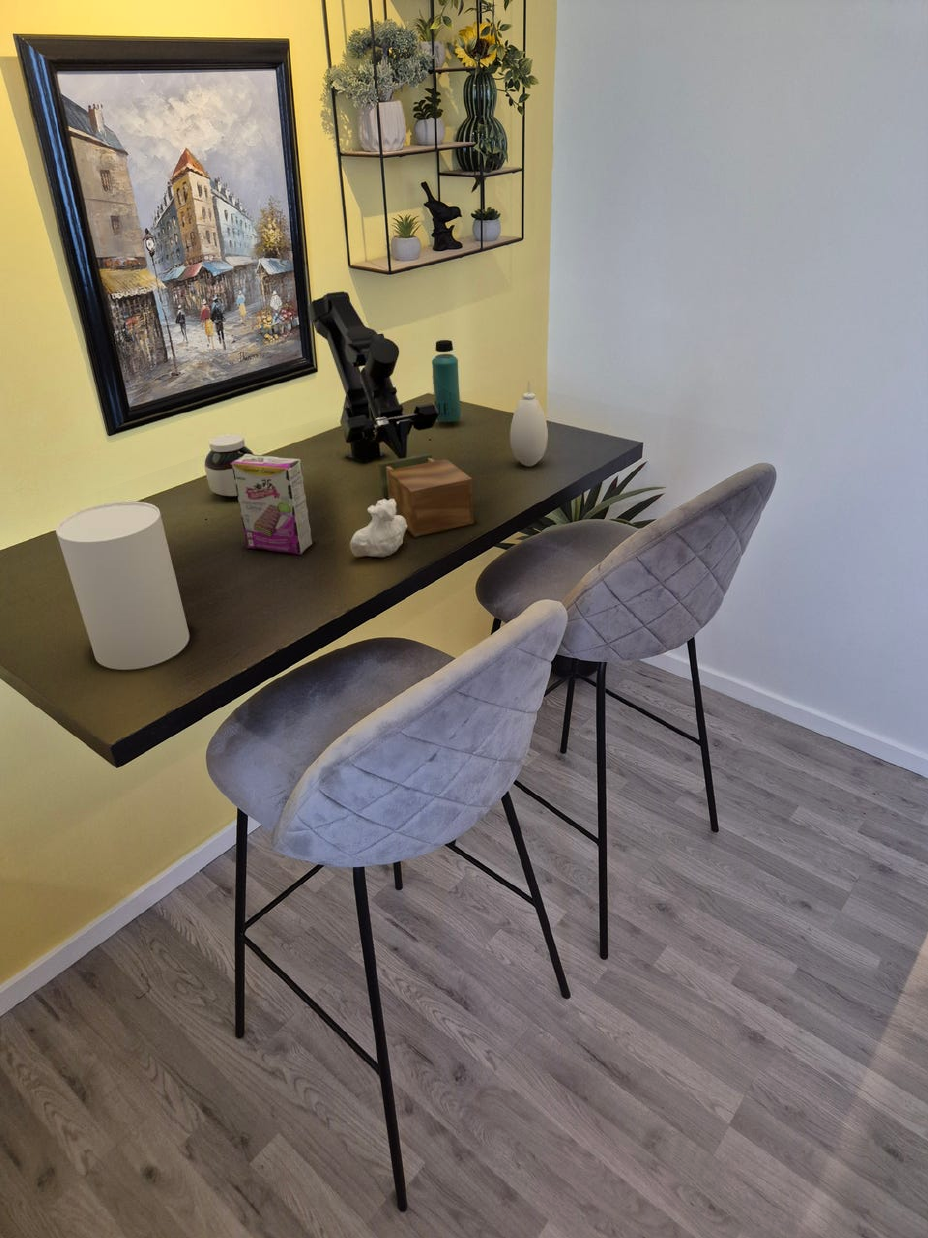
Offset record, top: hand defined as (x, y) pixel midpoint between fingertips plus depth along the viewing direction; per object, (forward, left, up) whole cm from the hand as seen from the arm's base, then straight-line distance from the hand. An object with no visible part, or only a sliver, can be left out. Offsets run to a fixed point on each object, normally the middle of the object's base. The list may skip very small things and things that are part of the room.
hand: (404, 460), depth 170 cm
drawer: (+5, -2, -6) cm, 8 cm away
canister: (+12, -64, -7) cm, 65 cm away
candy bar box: (0, -31, -7) cm, 32 cm away
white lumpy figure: (+16, -20, -7) cm, 27 cm away
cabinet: (+12, -5, -7) cm, 15 cm away
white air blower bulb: (+8, +28, -7) cm, 30 cm away
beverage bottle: (-26, +37, -7) cm, 46 cm away
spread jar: (-30, -21, -7) cm, 37 cm away
